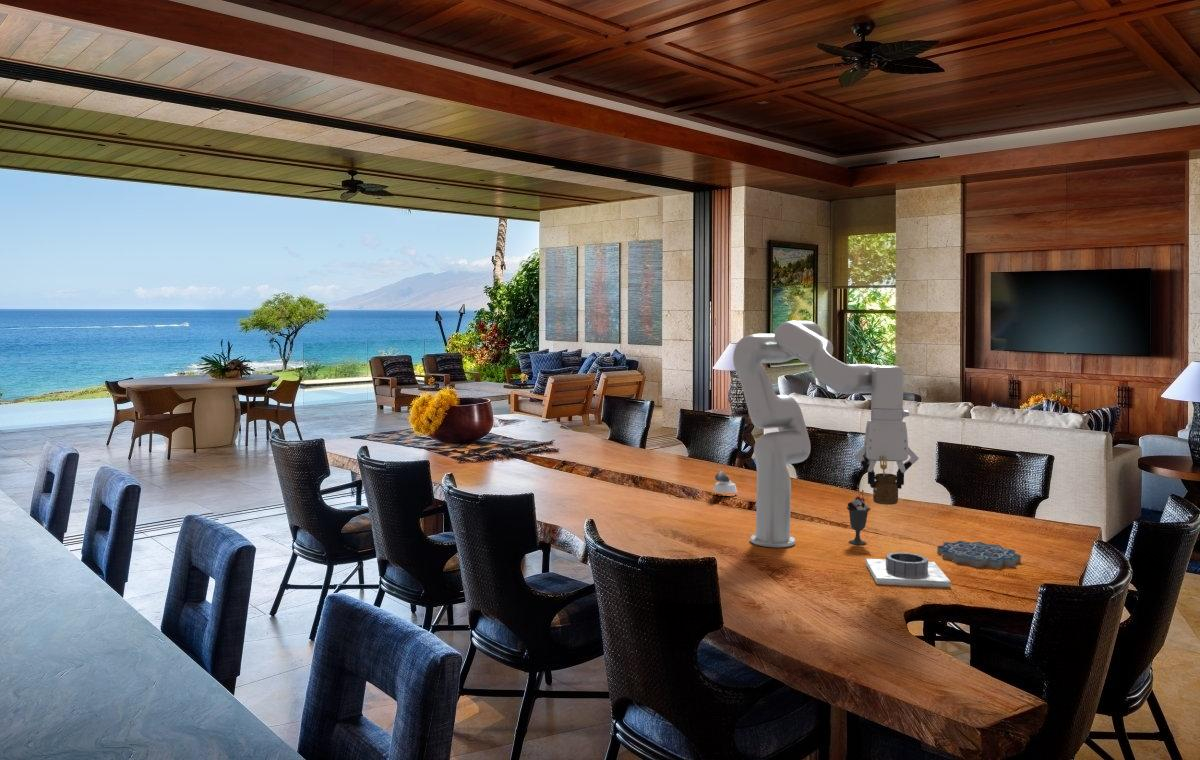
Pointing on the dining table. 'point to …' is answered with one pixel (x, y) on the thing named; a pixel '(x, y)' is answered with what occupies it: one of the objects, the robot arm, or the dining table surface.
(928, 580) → the collar stand
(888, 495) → the utensil holder
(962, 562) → the decorative tile
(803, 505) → the dining table surface
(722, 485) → the inkwell
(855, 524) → the sundae
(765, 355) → the robot arm
